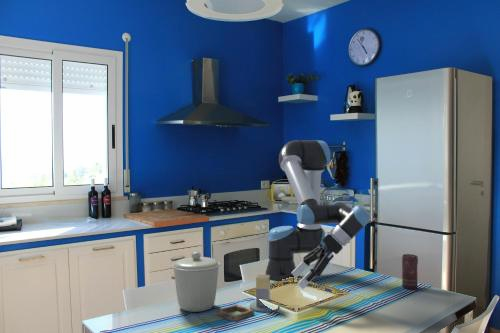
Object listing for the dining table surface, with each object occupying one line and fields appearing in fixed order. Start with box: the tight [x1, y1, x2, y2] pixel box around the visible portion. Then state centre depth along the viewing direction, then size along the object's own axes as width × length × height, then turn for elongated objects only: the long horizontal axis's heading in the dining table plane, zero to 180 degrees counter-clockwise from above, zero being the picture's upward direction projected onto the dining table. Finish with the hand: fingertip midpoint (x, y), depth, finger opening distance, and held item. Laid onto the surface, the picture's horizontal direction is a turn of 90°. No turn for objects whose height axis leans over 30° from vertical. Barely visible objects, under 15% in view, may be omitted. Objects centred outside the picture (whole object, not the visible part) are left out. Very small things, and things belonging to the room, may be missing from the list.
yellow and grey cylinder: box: [255, 274, 271, 308], centre depth 165 cm, size 5×5×11 cm
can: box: [401, 253, 419, 291], centre depth 188 cm, size 6×6×14 cm
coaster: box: [249, 301, 275, 313], centre depth 165 cm, size 11×11×1 cm
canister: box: [171, 251, 221, 313], centre depth 165 cm, size 18×18×21 cm
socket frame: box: [216, 304, 255, 322], centre depth 157 cm, size 9×9×2 cm
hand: (296, 280), depth 165 cm, fingers open, 13 cm apart
